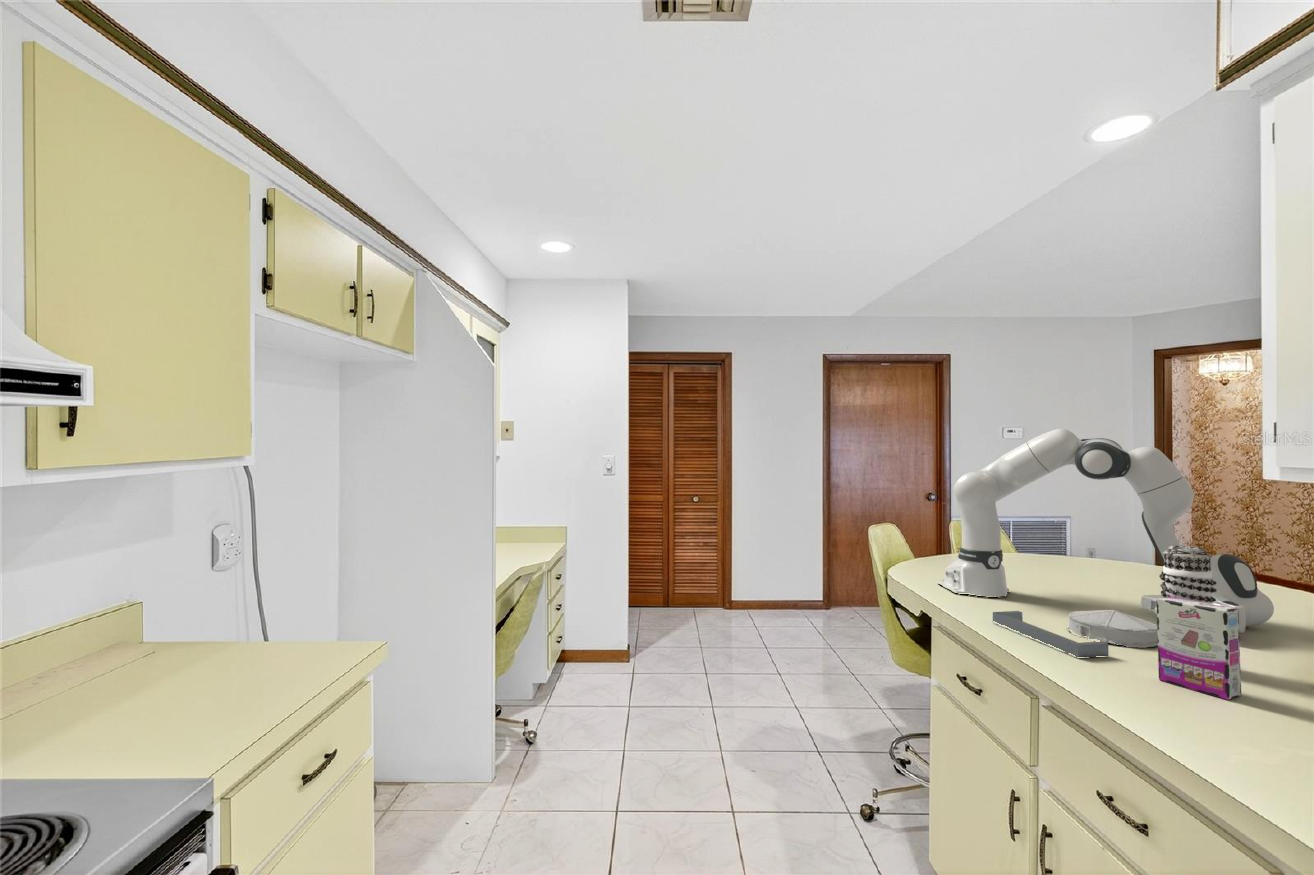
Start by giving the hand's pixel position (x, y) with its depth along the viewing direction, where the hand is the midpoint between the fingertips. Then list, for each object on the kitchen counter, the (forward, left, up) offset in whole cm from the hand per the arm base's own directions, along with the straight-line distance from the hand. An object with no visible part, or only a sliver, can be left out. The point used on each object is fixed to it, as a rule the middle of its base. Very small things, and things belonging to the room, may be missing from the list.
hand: (1160, 612), depth 149 cm
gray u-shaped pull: (0, -32, -5) cm, 32 cm away
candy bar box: (+31, -27, -5) cm, 41 cm away
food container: (0, -14, -6) cm, 15 cm away
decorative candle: (+20, -16, -5) cm, 26 cm away
